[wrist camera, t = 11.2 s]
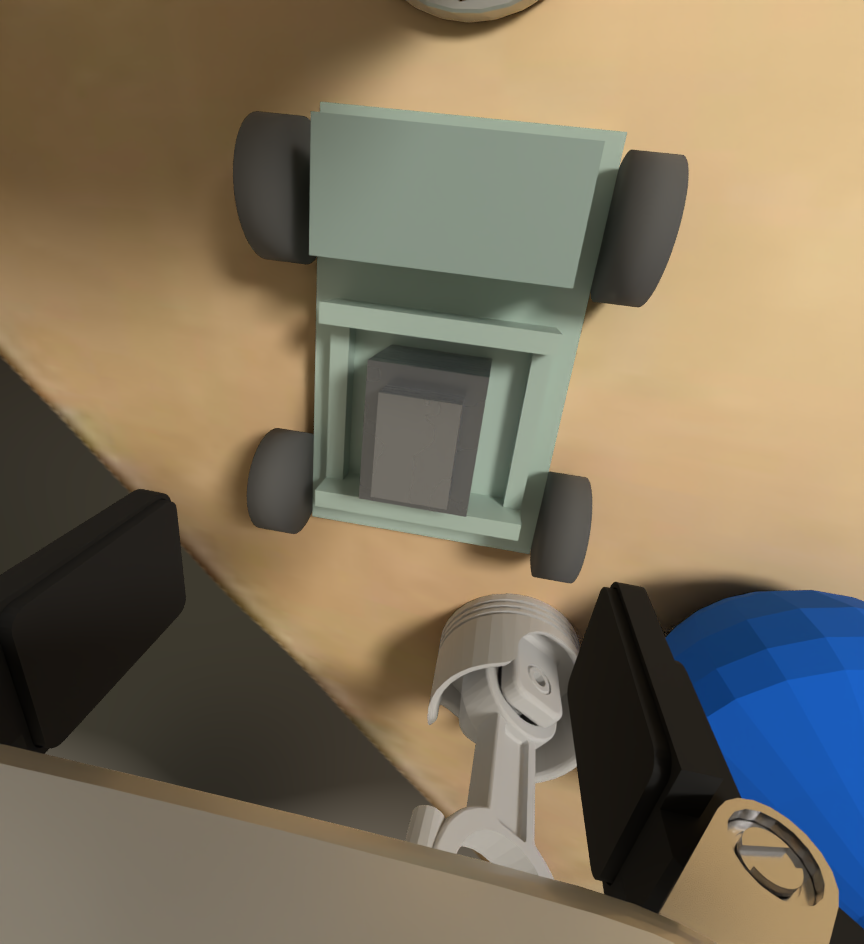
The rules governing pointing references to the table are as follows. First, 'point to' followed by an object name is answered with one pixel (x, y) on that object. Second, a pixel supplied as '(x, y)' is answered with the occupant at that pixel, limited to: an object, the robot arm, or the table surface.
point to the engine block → (422, 427)
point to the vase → (789, 712)
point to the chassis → (450, 295)
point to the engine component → (503, 723)
